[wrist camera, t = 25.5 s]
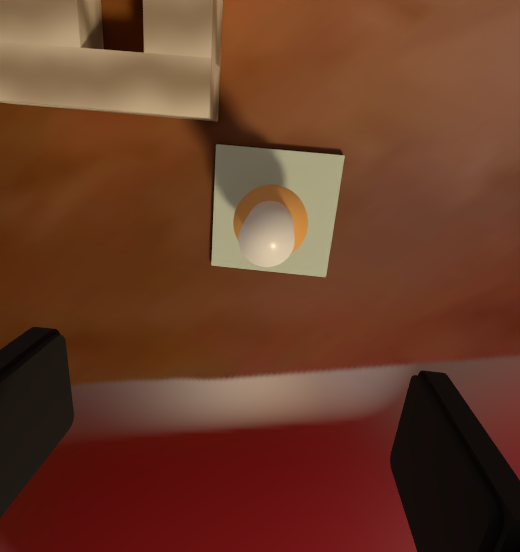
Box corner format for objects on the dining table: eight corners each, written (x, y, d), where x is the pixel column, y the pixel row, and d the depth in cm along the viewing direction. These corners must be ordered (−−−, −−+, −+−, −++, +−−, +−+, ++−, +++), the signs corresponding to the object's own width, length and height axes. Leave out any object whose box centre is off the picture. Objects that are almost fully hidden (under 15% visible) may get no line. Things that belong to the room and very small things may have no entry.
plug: (301, 248, 37) (305, 287, 27) (238, 241, 37) (219, 277, 27) (309, 183, 35) (317, 199, 24) (242, 177, 35) (224, 190, 25)
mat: (325, 275, 38) (325, 277, 38) (212, 263, 39) (211, 265, 38) (343, 155, 34) (344, 155, 33) (217, 144, 35) (216, 144, 34)
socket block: (218, 121, 34) (209, 118, 30) (11, 103, 35) (-23, 98, 31) (225, -68, 29) (216, -100, 25) (-15, -83, 30) (-58, -116, 26)
